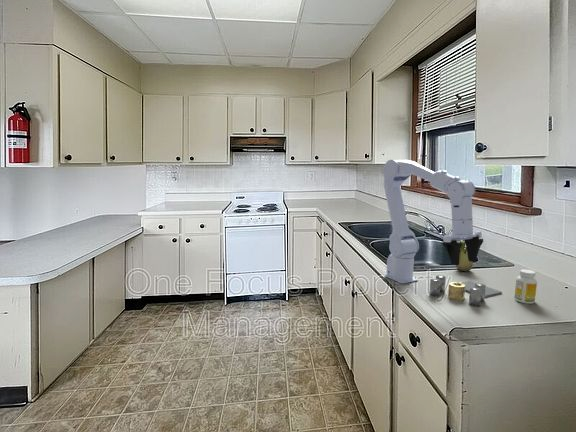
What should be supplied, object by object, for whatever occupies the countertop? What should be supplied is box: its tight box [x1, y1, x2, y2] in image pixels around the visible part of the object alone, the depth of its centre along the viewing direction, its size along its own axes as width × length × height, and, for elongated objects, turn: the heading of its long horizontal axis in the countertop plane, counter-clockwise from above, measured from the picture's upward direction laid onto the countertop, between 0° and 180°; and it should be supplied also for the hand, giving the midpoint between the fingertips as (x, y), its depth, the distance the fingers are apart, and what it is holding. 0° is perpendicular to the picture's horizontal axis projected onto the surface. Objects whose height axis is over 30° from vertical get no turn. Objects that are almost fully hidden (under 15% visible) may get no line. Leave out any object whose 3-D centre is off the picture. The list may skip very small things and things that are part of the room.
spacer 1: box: [429, 278, 441, 298], centre depth 115 cm, size 3×3×5 cm
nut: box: [447, 281, 466, 301], centre depth 113 cm, size 5×4×4 cm
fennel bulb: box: [455, 241, 474, 273], centre depth 141 cm, size 6×5×12 cm
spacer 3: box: [468, 287, 481, 308], centre depth 107 cm, size 3×3×5 cm
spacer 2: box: [435, 274, 447, 293], centre depth 119 cm, size 3×3×5 cm
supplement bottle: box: [513, 269, 538, 305], centre depth 110 cm, size 5×5×10 cm
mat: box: [461, 280, 503, 298], centre depth 120 cm, size 12×9×1 cm
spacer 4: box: [475, 282, 487, 303], centre depth 111 cm, size 3×3×5 cm
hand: (463, 263), depth 110 cm, fingers open, 7 cm apart
